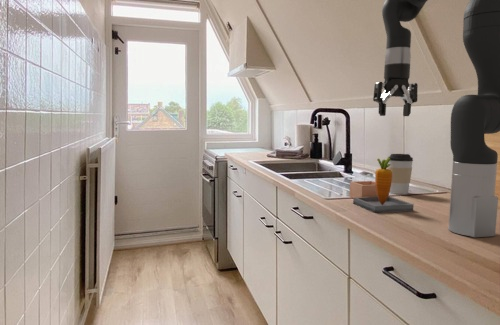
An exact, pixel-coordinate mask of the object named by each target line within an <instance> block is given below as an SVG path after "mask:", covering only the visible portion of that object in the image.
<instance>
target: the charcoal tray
mask: <svg viewBox="0 0 500 325" xmlns="http://www.w3.org/2000/svg"><path fill="white" fill-rule="evenodd" d="M352 199H353V202H352V204H353V205H356V206H358V207H360V208H363V209H365V210H367V211H369V212H371V213H377V214H379V213H380V214H381V213H398V212H399V213H400V212H413V211H414V203H410V202H407V201H404V200H401V199H398V198H395V197H393V196H388V198H387V200H386V201H385V203H384V204H383V205H382V204H381V203H380V201H379V199H378V197H355V198H352Z"/></svg>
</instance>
